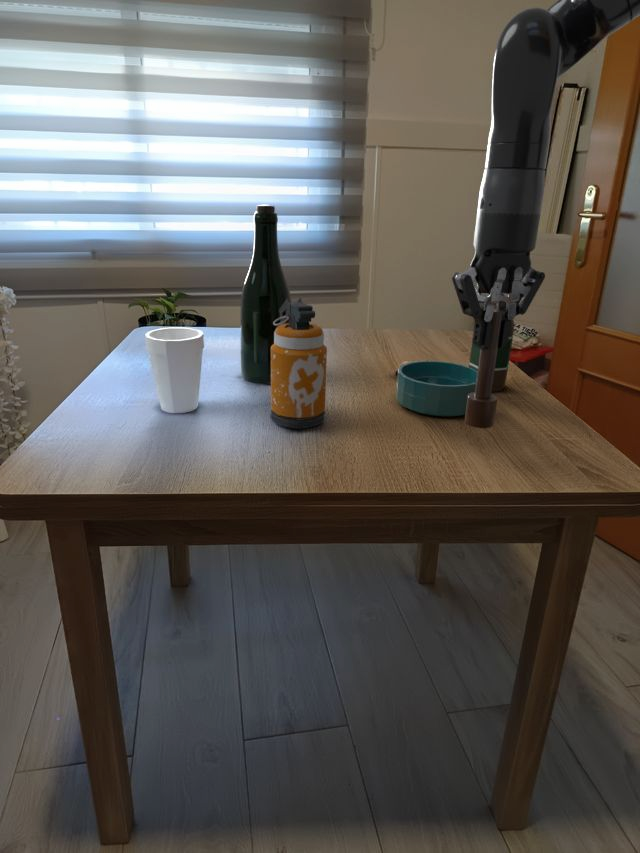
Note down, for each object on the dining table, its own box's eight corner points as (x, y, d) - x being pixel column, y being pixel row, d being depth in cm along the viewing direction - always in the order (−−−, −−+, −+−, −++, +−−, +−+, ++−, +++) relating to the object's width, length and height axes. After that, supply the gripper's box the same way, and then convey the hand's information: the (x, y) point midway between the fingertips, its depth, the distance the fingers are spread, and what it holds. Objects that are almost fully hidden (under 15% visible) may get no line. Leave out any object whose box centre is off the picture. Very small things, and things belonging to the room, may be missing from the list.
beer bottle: (470, 391, 113) (487, 266, 104) (462, 379, 120) (478, 261, 111) (509, 393, 113) (530, 268, 103) (499, 381, 120) (518, 262, 111)
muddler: (497, 422, 82) (514, 310, 76) (486, 430, 79) (503, 314, 73) (471, 415, 84) (485, 306, 78) (459, 423, 81) (473, 310, 75)
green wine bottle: (302, 376, 119) (305, 205, 106) (269, 388, 111) (268, 206, 98) (264, 366, 125) (263, 203, 112) (230, 377, 117) (224, 203, 104)
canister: (280, 434, 91) (281, 308, 83) (260, 410, 100) (259, 294, 92) (332, 427, 94) (337, 305, 86) (308, 405, 103) (311, 292, 96)
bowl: (491, 402, 108) (496, 371, 105) (457, 426, 96) (462, 392, 94) (419, 385, 116) (422, 356, 114) (380, 404, 105) (382, 373, 102)
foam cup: (207, 397, 106) (204, 327, 101) (206, 415, 97) (202, 340, 92) (154, 398, 104) (148, 327, 99) (148, 417, 96) (141, 341, 91)
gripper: (482, 210, 65) (463, 359, 71) (574, 211, 70) (549, 350, 77) (443, 208, 71) (430, 344, 78) (531, 209, 76) (511, 337, 83)
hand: (489, 346), depth 77 cm, fingers closed on muddler, 2 cm apart
